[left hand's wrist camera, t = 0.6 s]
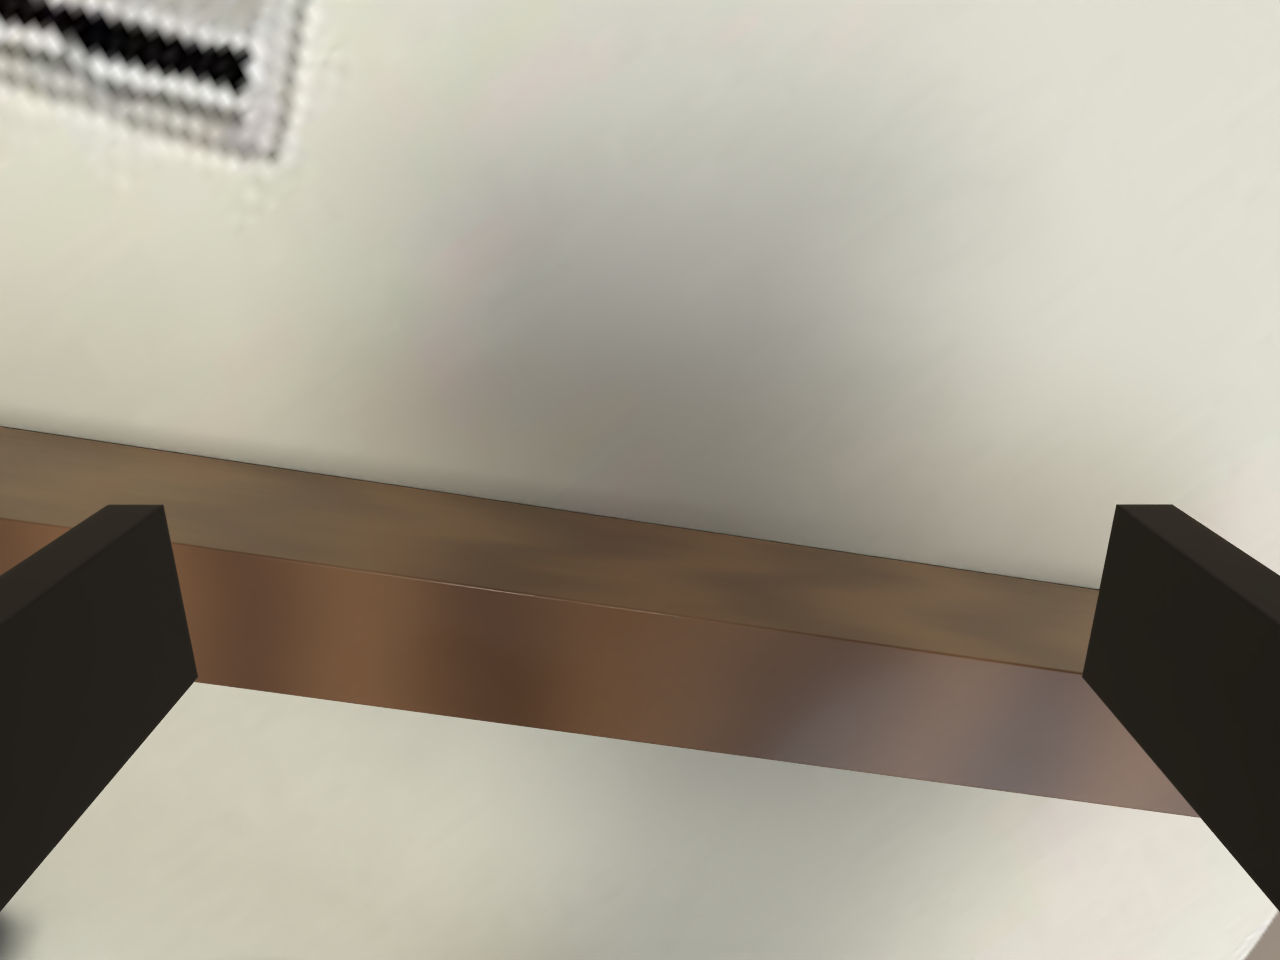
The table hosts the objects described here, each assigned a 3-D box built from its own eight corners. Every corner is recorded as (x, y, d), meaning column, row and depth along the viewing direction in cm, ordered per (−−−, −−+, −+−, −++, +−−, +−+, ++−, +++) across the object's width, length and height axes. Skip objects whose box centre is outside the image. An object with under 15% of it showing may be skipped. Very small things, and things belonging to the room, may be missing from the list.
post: (1222, 607, 41) (1355, 712, 33) (1177, 710, 42) (1293, 831, 35) (-205, 395, 37) (-421, 457, 30) (-184, 517, 39) (-381, 605, 31)
